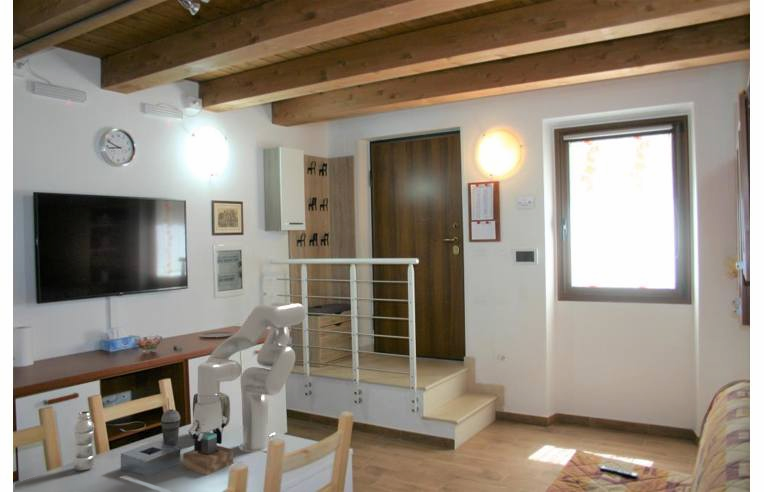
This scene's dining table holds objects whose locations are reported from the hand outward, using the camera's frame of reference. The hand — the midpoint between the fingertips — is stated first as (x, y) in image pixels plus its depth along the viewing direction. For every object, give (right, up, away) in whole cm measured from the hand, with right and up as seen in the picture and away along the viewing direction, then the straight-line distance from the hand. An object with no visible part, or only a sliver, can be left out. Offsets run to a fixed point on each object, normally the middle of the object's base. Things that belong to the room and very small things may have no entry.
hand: (208, 446), depth 200 cm
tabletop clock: (-9, -8, +34) cm, 36 cm away
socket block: (-21, -8, 0) cm, 22 cm away
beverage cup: (-20, -8, +17) cm, 28 cm away
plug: (0, -7, 0) cm, 7 cm away
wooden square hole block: (0, -8, 0) cm, 8 cm away
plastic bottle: (-43, -8, -1) cm, 44 cm away
